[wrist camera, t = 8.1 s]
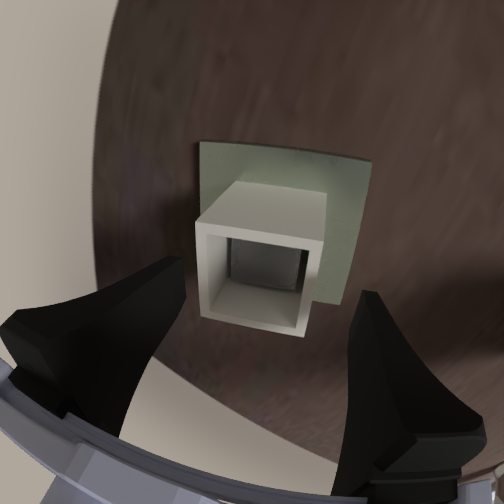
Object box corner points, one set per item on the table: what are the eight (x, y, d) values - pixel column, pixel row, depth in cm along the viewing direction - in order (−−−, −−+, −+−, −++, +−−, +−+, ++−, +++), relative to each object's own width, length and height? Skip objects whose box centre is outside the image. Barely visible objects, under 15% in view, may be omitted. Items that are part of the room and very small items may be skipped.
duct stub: (370, 159, 16) (382, 180, 12) (340, 298, 21) (338, 340, 18) (204, 139, 18) (172, 154, 14) (206, 273, 23) (183, 309, 19)
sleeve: (313, 271, 20) (303, 337, 15) (233, 258, 21) (200, 316, 16) (326, 193, 17) (323, 241, 12) (235, 181, 18) (194, 221, 13)
